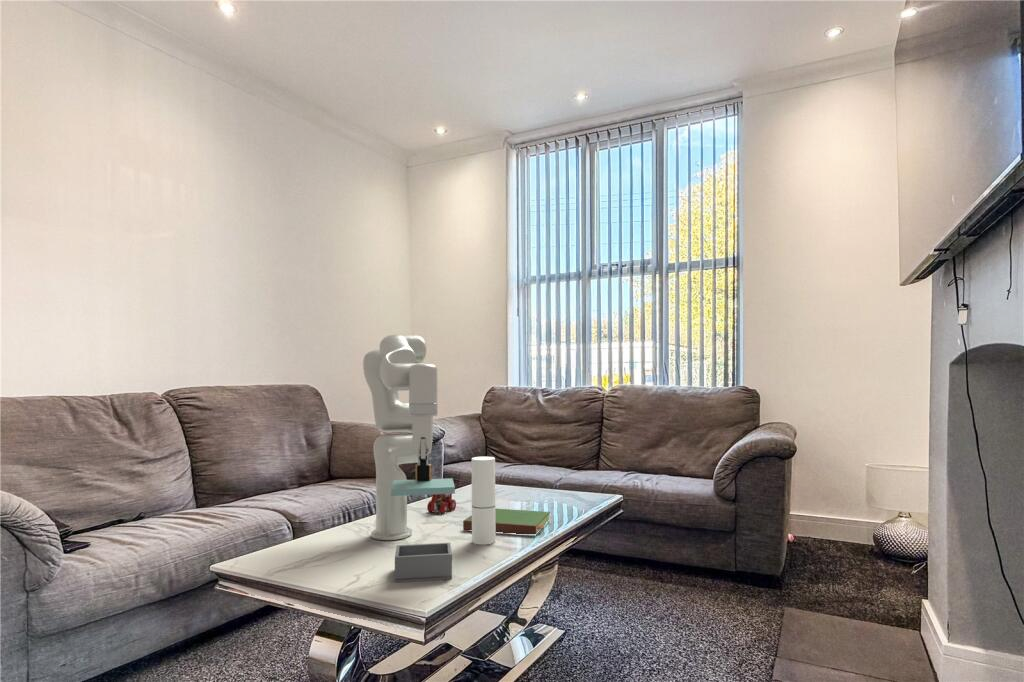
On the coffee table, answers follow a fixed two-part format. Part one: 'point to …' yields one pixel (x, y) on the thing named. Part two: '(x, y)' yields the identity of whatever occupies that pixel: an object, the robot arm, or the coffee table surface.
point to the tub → (423, 562)
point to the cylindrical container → (483, 500)
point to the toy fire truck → (441, 503)
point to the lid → (423, 486)
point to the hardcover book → (515, 521)
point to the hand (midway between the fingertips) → (423, 479)
